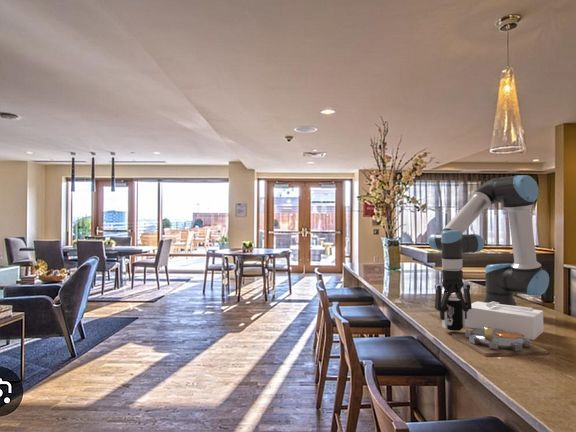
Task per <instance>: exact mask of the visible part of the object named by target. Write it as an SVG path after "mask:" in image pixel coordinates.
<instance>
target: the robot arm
mask: <svg viewBox="0 0 576 432" xmlns="http://www.w3.org/2000/svg"><path fill="white" fill-rule="evenodd" d="M539 193H540V191H539V186H538V183H537V182H536V180H535V179H534V178H533V177H532V176H530V175H526V174H525V175H522V174H521V175H513V176H504V177H495V178H493V179H492V178H491V179H489V180H488V181H486V182H484V183H483V184H482V185H480V186H478V188H477V189H475V191H473V192H472V194H471V195H470V199H469V200H468V201H467V202H466V204H465V205H464V206H463V207H462V208H461V209H460V210H459V211H458V212H457V213H456V214H455V215H454V216H453V218H451V220H450V221H449V222H448V223H447V224H446V225H445V226H444V227H443V228H442V230H441V231H440V232H436V233H432V234H430V236H429V238H428V244H429V247H430V249H432V250H434V251H439V252H441V268H442V270H441V274H442V275H441V279H442V281H441V283H440V284H435V285H434V288H435V301H434V309H435V310H437V311H439V318H440V320H441V328H443V329H445V330H448V329H447V312H445V309H446V306H447V303H448V299H449V297H451V295H452V294H455V295H456V297H457V298H458V299H461V302H462V318H463V328H462V329H466V327H465V319H467V312H468V310H469V309H471V308H472V306H471V304H472V300H471V292H470V290H471V284H469V283H466V282H465V283H464V281H463V279H464V275H463V274H464V271H463V270H462V269H463V268H464V267H463V254H470V253H471V254H472V253H473V254H475V253H479V252H481V251H482V250H483V249H484V246H485V241H484V238H483V237H482V236H481V235H479V234H475V233H468V234H466V233H465V232H466V231H467V229H469V227H471V225H472V224H473V223H474V222H475V220H477V218H478V217H479V216H480V215H481V214H482V213H483V211H485V210H487V209H489V208H490V207H491V206H492V205H494V204H495V205H496V204H501V203H502V204H503V206H502V207H503V208H504V209H505V210H506V211H507V213H508V221H509V227H510V228H509V229H510V237H511V246H512V254H513V263H496V264H493V263H492V264H487V265H486V266H485V274H484V276H485V295H484V299H483V301H482V302H485V303H490V302H492V301H494V302H498V303H499V304H502V305H511V306H517V303H516V301H515V298H514V293H516V294H522V295H527V296H535V297H538V296H539V297H540V296H542V295H543V294H545V292H546V291H547V290H548V287H549V284H550V276H549V273H548V272H547V270H545V269H542V264H541V263H540V262H539V261H537V254H536V253H537V251H536V245H535V237H534V229H533V227H534V226H533V221H532V213H531V208H532V207H533V206H534V205H535V204H534V202H535V201H536V200H537V199H538V198H539ZM464 233H465V234H464ZM462 288H463V292H462ZM443 289H444V291H442V290H443ZM463 296H464V297H463Z"/></svg>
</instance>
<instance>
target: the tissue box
mask: <svg viewBox="0 0 576 432" xmlns="http://www.w3.org/2000/svg"><path fill="white" fill-rule="evenodd" d="M471 306H472V308H471V309H469V310H468V312H467V319H465V328H469V329H474V328H483V329H485V327H491V328H492V329H495V328H498V329H504V331H509V332H514V333H520V334H523V335H524V338H525V339H530V340H532V341H534V340H536V339H537V338H538V337H539V336H540V335H541V334H543V333H544V311H543V310H540V309H534V308H533V307H529V306H528V307H527V306H526V307H525V306H520V305H516V306H511V305H502V304H499V303H498V302H494V301H492V302H490V303H485V302H483V301H475V302H471Z"/></svg>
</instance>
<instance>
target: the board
mask: <svg viewBox="0 0 576 432" xmlns="http://www.w3.org/2000/svg"><path fill="white" fill-rule="evenodd" d="M451 337H452V338H453V339H455V340H457V341H458V342H460V343H462V344H464V345H465V346H466V347H469V348H470V349H472V350H473V351H475V352H477V353H478V354H480V355H482V356H483V357H500V356H501V357H502V356H525V355H526V356H528V355H531V356H533V355H549V350H547V349H544V348H543V347H540V346H538V345H536V344H534V343H532V342H530V347H525V346H524V347H522V350H518V351H515V350H512V349H500V348H499V349H498V350H497V349H491V348H489V347H488V346H484V345H480V344H473V343H471V342H469V338H466V337H465V333H452V334H451Z"/></svg>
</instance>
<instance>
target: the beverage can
mask: <svg viewBox="0 0 576 432" xmlns="http://www.w3.org/2000/svg"><path fill="white" fill-rule="evenodd" d="M445 312H447V329H446V330H448V331H453V332H457V331H458V332H459V331H462V329H464V328H463V318H462V302H461V299H458V298H457V296H456V297H455V296H449V299H448V303H447V306H446V309H445Z"/></svg>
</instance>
